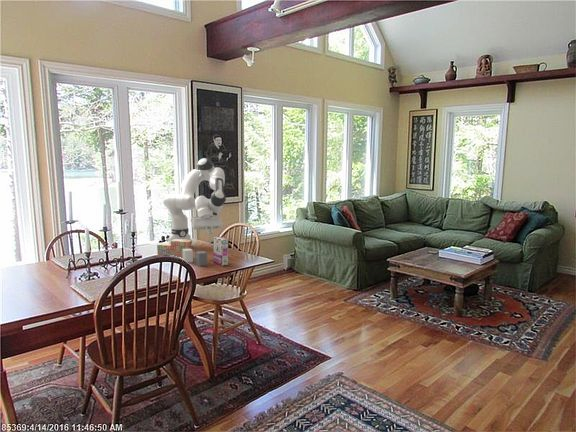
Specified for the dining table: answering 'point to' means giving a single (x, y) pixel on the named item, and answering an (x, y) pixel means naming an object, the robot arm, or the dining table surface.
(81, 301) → the dining table surface
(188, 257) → the pale grey block
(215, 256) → the candy bar box
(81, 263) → the dining table surface
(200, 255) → the charcoal block
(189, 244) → the stack of blocks
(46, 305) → the dining table surface
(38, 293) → the dining table surface
